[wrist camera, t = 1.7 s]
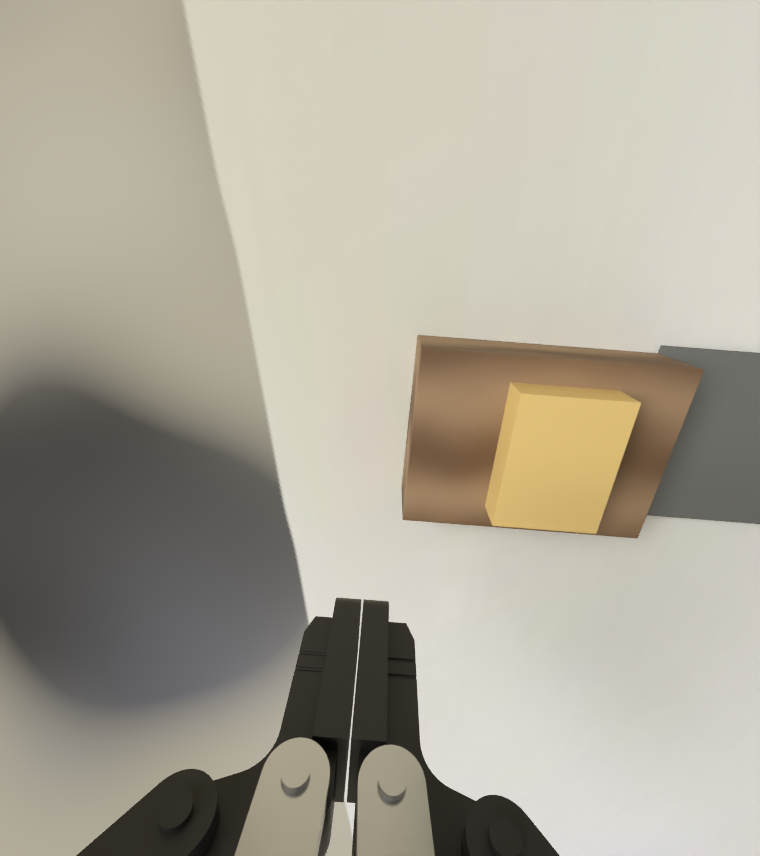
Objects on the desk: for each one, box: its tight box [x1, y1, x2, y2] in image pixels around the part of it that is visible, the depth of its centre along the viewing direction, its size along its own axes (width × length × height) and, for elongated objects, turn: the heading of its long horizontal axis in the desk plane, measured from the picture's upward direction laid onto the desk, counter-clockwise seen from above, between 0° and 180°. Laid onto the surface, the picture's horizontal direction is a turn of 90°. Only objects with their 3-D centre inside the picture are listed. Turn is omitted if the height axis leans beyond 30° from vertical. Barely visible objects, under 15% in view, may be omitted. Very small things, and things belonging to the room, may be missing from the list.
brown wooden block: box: [402, 335, 704, 538], centre depth 25 cm, size 11×15×4 cm
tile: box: [485, 382, 641, 534], centre depth 22 cm, size 8×6×2 cm
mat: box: [647, 346, 760, 524], centre depth 27 cm, size 12×12×1 cm
